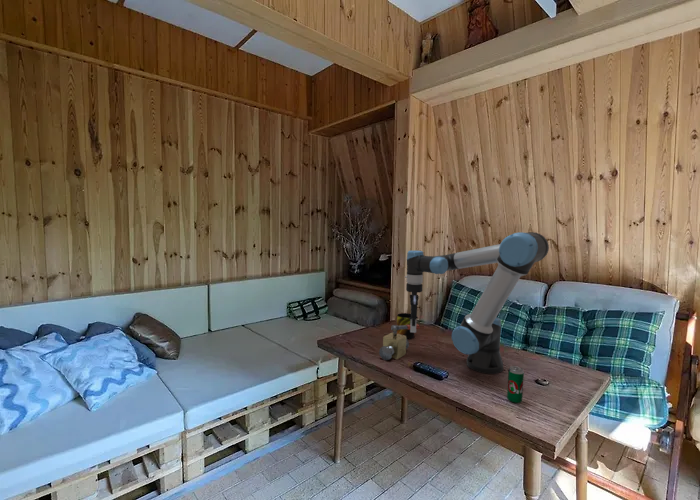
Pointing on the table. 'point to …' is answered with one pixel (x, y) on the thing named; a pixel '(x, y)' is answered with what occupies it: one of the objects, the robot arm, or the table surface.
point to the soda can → (515, 384)
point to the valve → (393, 346)
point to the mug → (404, 320)
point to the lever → (396, 327)
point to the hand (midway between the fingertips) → (413, 332)
